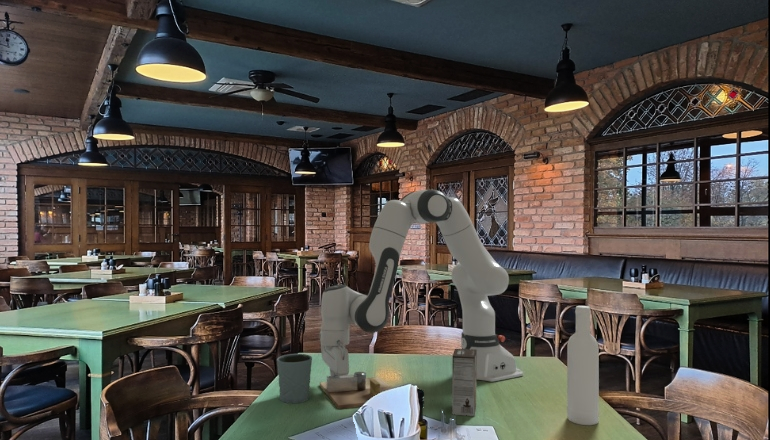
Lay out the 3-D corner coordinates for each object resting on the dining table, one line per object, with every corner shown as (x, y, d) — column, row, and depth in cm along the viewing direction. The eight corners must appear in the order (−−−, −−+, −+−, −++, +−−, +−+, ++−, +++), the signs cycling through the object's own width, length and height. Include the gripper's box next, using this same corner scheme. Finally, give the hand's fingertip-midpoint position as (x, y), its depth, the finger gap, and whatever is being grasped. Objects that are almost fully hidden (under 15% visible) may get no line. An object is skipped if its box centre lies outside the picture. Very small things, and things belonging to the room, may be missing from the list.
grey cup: (317, 395, 157) (317, 355, 157) (301, 406, 147) (301, 363, 147) (287, 391, 160) (287, 352, 160) (269, 401, 151) (270, 360, 151)
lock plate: (378, 379, 173) (378, 364, 173) (404, 401, 152) (405, 384, 152) (319, 385, 166) (319, 369, 167) (338, 409, 145) (338, 391, 145)
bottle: (562, 415, 142) (562, 304, 142) (589, 414, 142) (589, 304, 143) (575, 426, 134) (575, 308, 134) (604, 425, 134) (604, 308, 135)
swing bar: (364, 386, 162) (364, 371, 162) (366, 389, 158) (367, 374, 158) (326, 389, 159) (326, 373, 159) (328, 392, 155) (328, 377, 155)
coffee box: (454, 403, 150) (454, 347, 150) (476, 405, 149) (476, 349, 149) (451, 414, 141) (452, 355, 141) (475, 416, 140) (476, 356, 140)
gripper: (354, 344, 153) (354, 391, 152) (336, 331, 172) (336, 373, 172) (333, 345, 150) (333, 393, 150) (317, 332, 170) (317, 374, 169)
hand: (334, 382), depth 161 cm, fingers closed
